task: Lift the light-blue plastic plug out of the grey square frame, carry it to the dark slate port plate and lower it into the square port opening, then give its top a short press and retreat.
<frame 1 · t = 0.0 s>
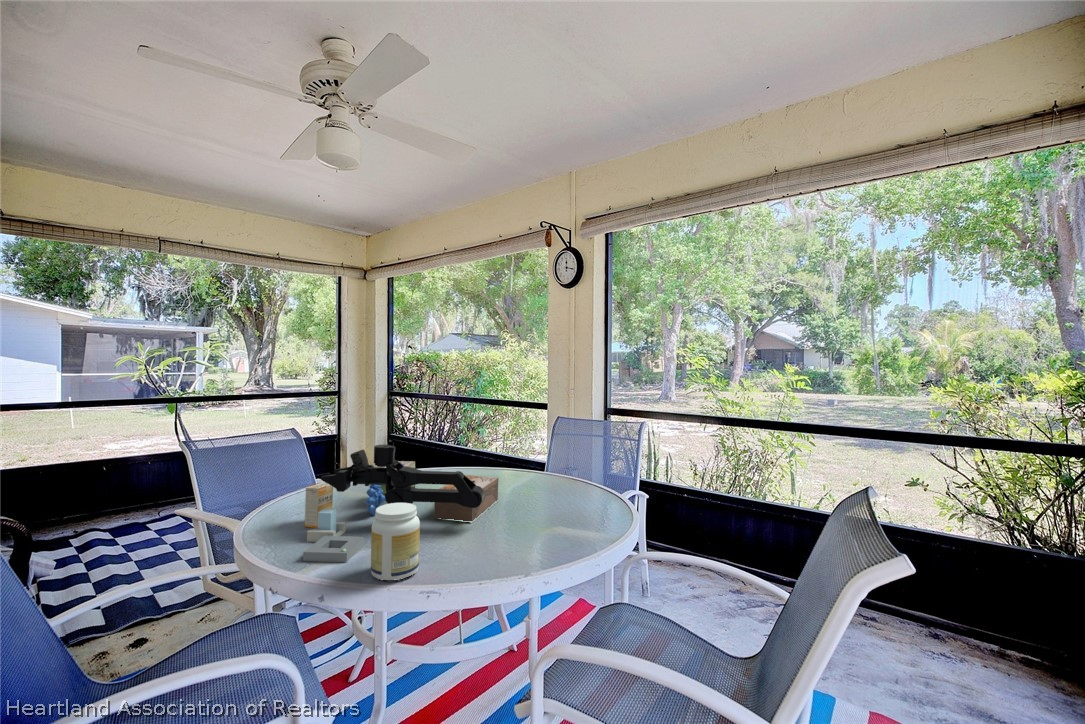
hand: (327, 474, 159), 17 cm above the table, tool horizontal, fingers open, 9 cm apart
supplement tub: (395, 573, 124), on the table
grey square frame: (326, 536, 147), on the table
supplement box: (318, 524, 159), on the table
tissue box cover: (467, 511, 177), on the table
socket: (334, 552, 135), on the table
tea box: (397, 502, 184), on the table
plug: (326, 536, 147), resting in grey square frame
grapes: (376, 515, 168), on the table
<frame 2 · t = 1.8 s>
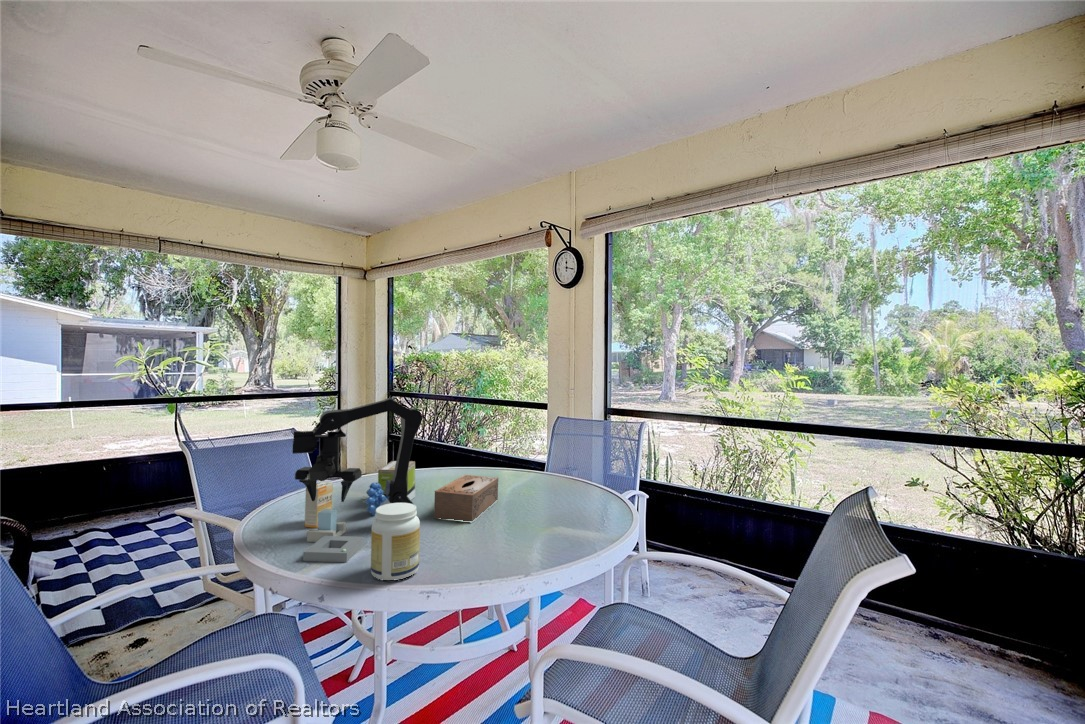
hand: (328, 501, 148), 11 cm above the table, tool pointing down, fingers open, 9 cm apart
nothing on the table moved.
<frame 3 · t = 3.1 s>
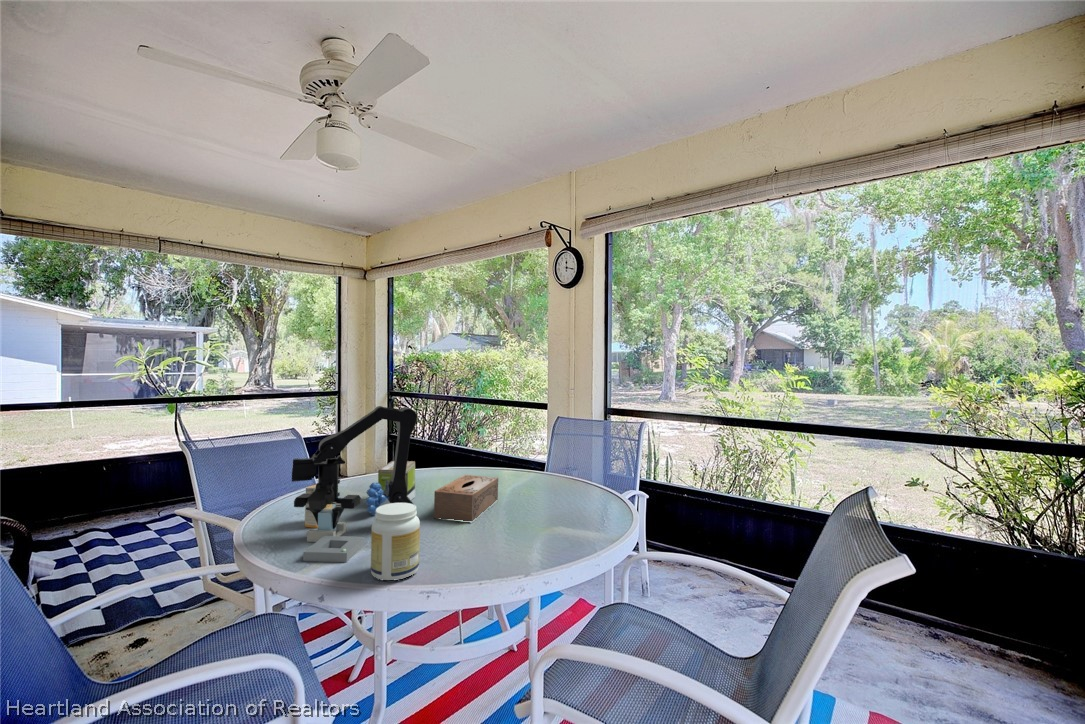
hand: (327, 528, 147), 3 cm above the table, tool pointing down, fingers closed on plug, 4 cm apart
plug: (326, 536, 147), resting in grey square frame, touching gripper
everything else where it was.
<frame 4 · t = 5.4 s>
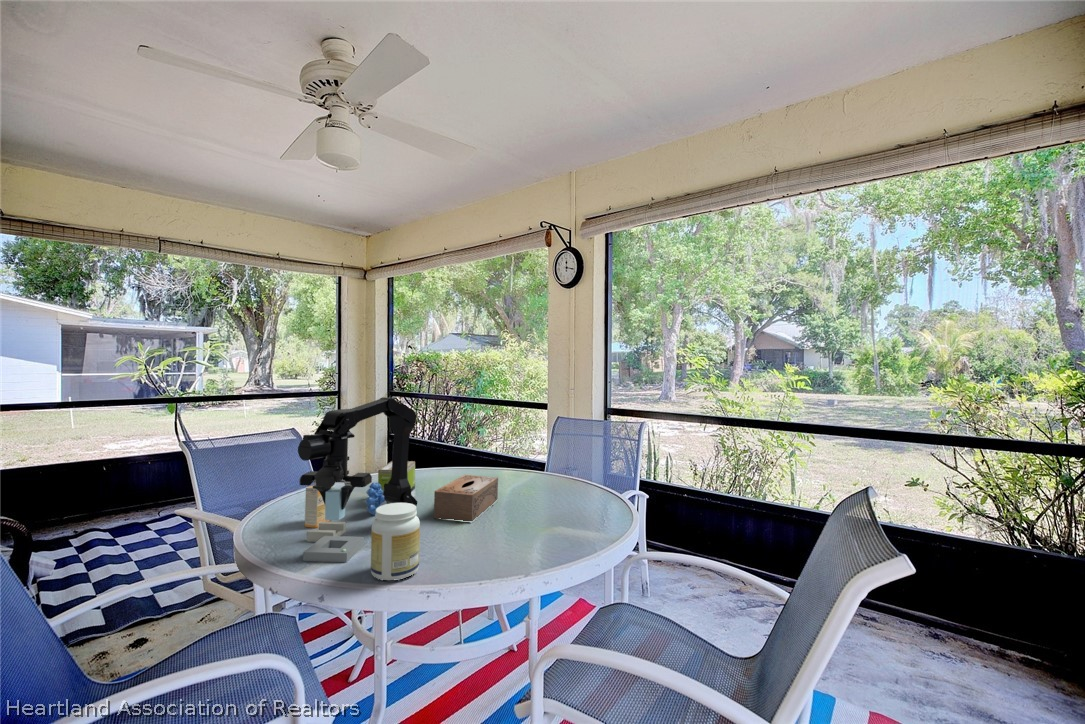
hand: (335, 508, 136), 13 cm above the table, tool pointing down, fingers closed on plug, 4 cm apart
plug: (335, 517, 136), point 10 cm above the table, touching gripper
everything else where it was.
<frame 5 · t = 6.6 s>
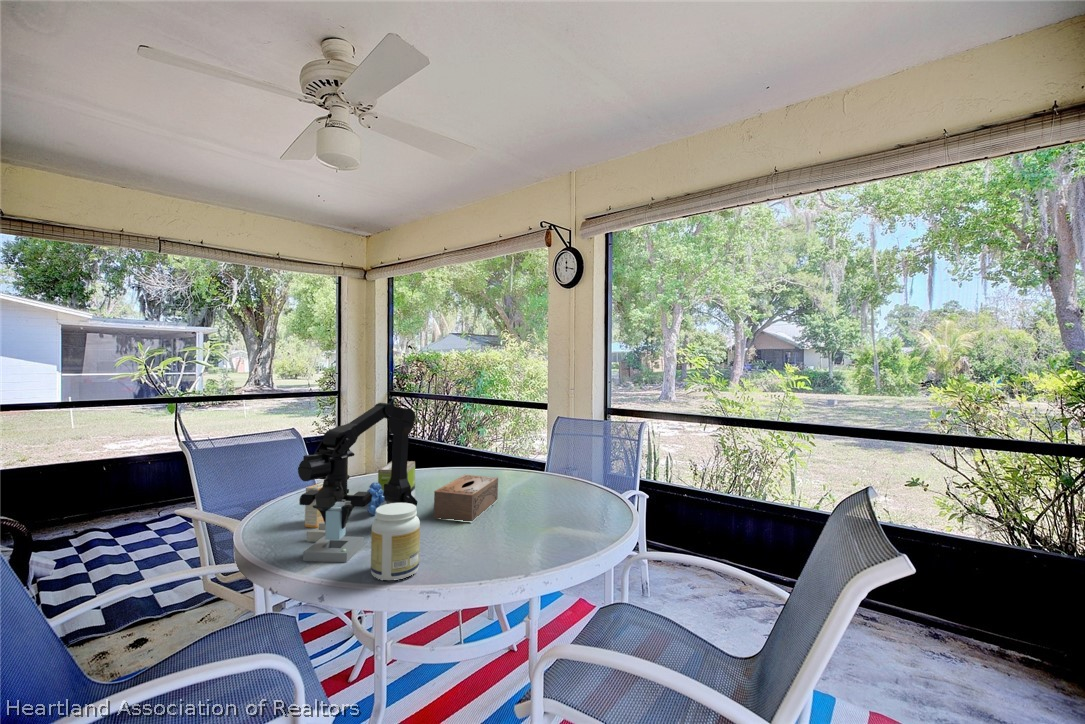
hand: (335, 528, 135), 7 cm above the table, tool pointing down, fingers closed on plug, 4 cm apart
plug: (335, 536, 135), point 5 cm above the table, touching gripper
everything else where it was.
when the fingers open (4 cm above the table, at t = 7.6 s): plug drops 2 cm, resting in socket.
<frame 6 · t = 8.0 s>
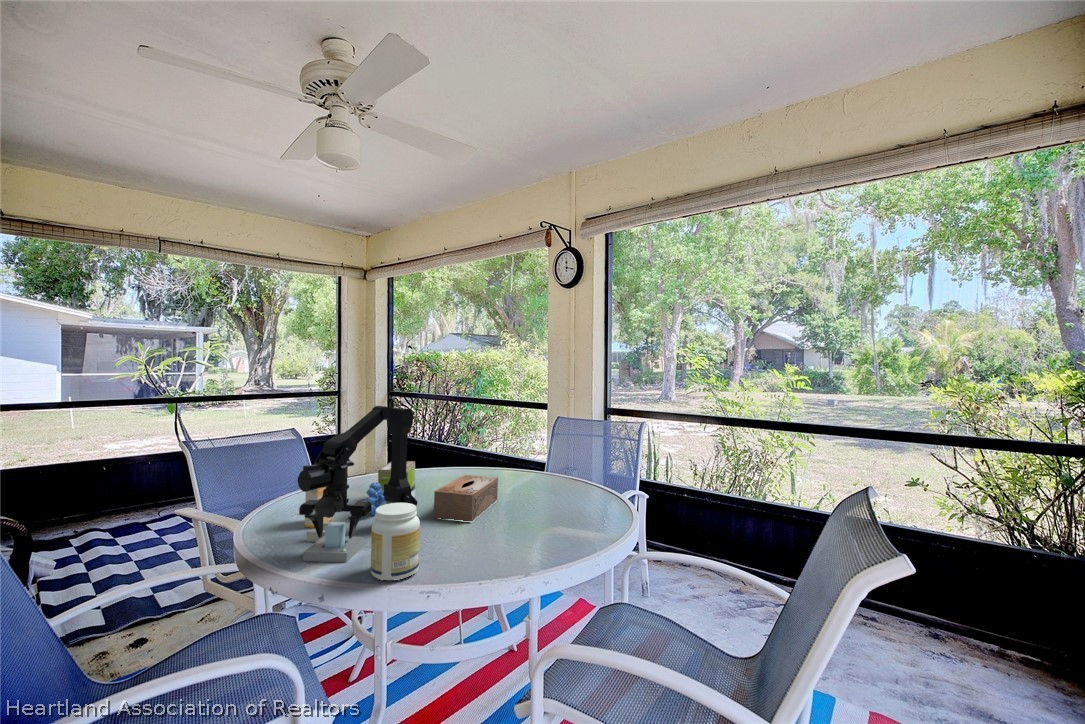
hand: (335, 537, 135), 4 cm above the table, tool pointing down, fingers open, 8 cm apart
plug: (334, 552, 135), resting in socket
everything else where it was.
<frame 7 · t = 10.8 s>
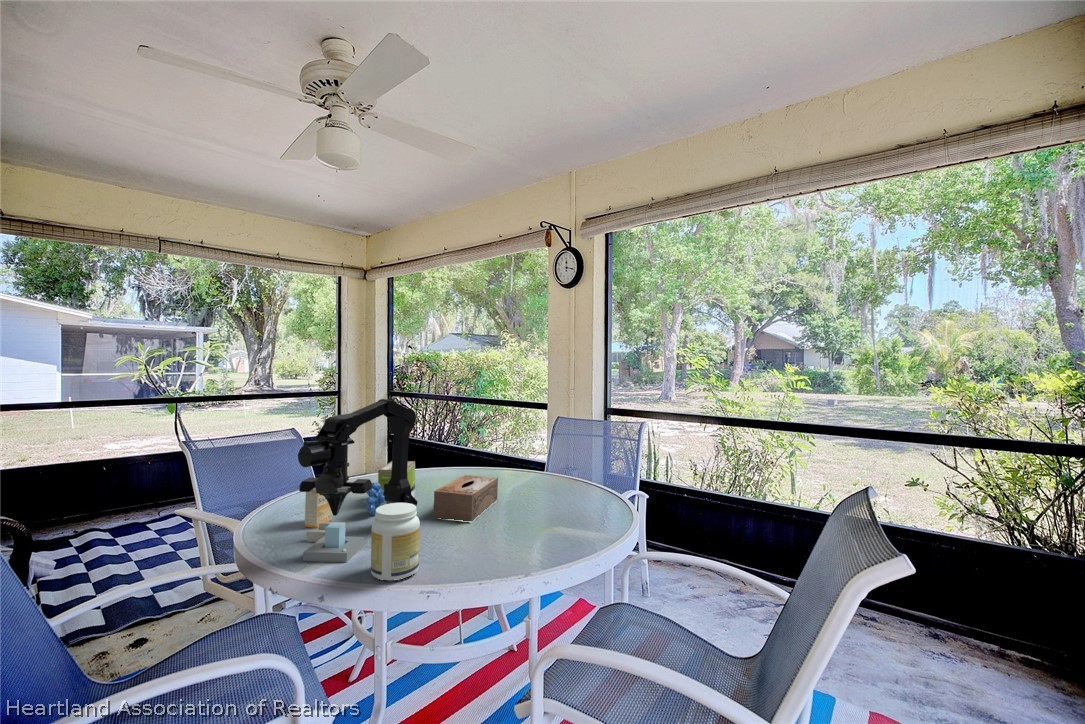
hand: (335, 515, 135), 11 cm above the table, tool pointing down, fingers closed
nothing on the table moved.
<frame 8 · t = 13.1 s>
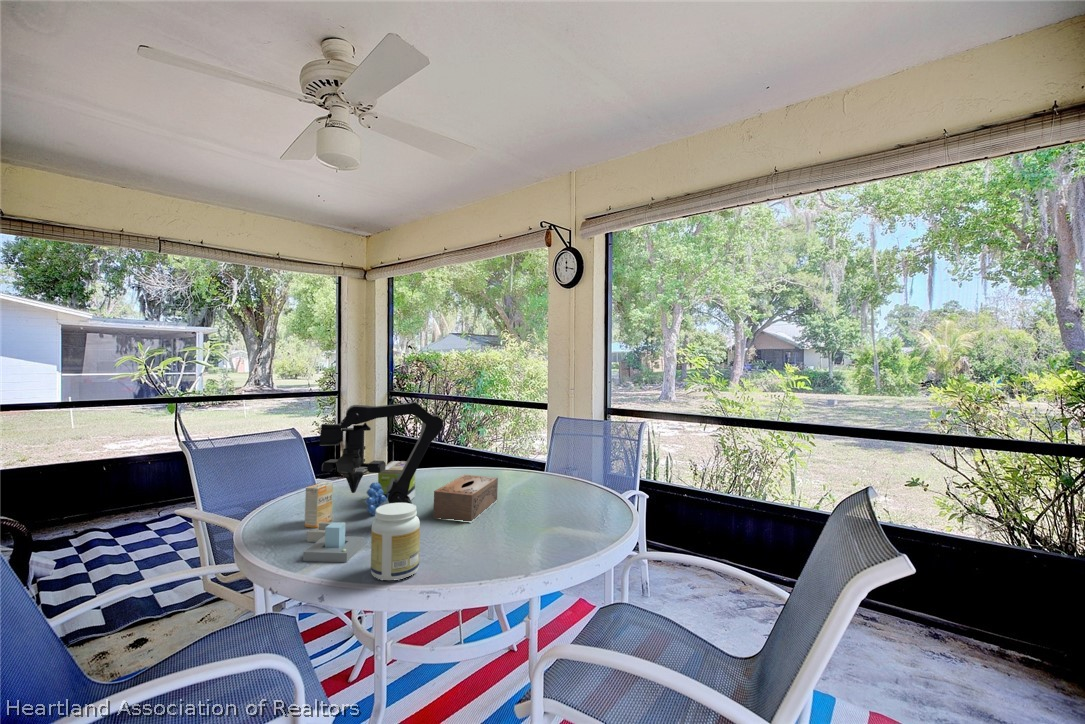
hand: (353, 492, 152), 13 cm above the table, tool pointing down, fingers closed
nothing on the table moved.
at the end: plug 0.0 cm off-centre on the socket, point 0.0 cm above the socket's base; plug tilted 0°; the gripper is holding nothing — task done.
